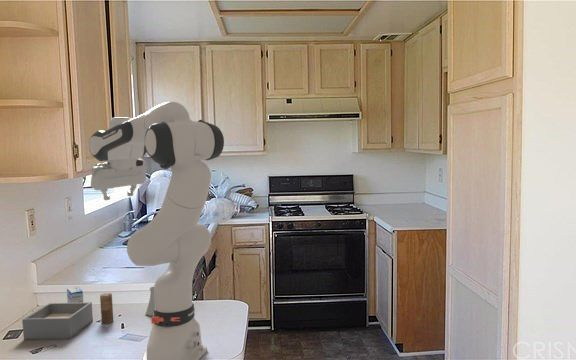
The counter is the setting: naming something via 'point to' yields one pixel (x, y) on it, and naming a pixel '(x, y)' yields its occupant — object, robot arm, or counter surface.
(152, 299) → the flask
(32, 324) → the storage box
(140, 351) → the counter surface
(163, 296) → the robot arm
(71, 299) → the medicine box
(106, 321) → the wooden peg
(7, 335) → the counter surface
